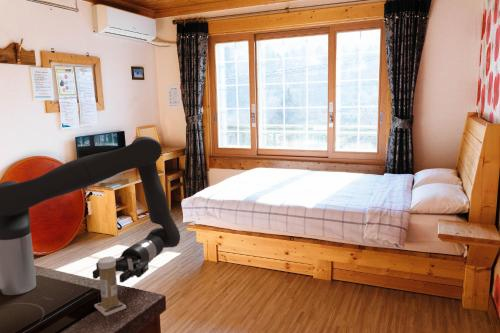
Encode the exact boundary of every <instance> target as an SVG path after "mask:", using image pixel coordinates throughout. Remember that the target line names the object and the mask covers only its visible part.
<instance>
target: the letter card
mask: <svg viewBox="0 0 500 333" xmlns="http://www.w3.org/2000/svg"><path fill="white" fill-rule="evenodd" d="M94 308H95V309H97V311H99V312H100V313H101V314H102V315H103V316H105V317H107V316H109V315H110V316H111V315H112V314H115V313H118V312H120V311H122V310H125V309H126V308H127V305H125V304H124V302H121V301H120V299H118V305H117V306H115V307H113V308H103V307H102V301H101V302H98V303H94Z"/></svg>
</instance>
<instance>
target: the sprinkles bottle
mask: <svg viewBox="0 0 500 333" xmlns="http://www.w3.org/2000/svg"><path fill="white" fill-rule="evenodd" d="M115 259H116V258H115V257H114V256H111V257H109V256H105V257H101V258H99V259H98V260H97V263H98V267H99V274H100V277H99V285H100V286H99V288H100V289H99V290H100V297H101V302H102V307H103V308H113V307H115V306H117V305H118V300H119V299H118V298H119V297H118V283H117V282H118V281H117V272H116V270H115V265H116V260H115Z"/></svg>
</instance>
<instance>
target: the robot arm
mask: <svg viewBox="0 0 500 333" xmlns="http://www.w3.org/2000/svg"><path fill="white" fill-rule="evenodd" d="M161 145H162V144H160V142H159V141H158V140H157V139H155V138H153V137H151V136H139V137H137V138H135V139H133V141H132V142H131V143H130V144H127V145H125V146H124V147H123V146H122V147H121V148H118V149H114V150H110V151H105V152H99V153H94V154H90V155H85V156H81V157H79V158H75V159H73V160H71V161H68V162H67V161H66V162H65V163H63V164H61V165H59V166H56V167H55V168H53V169H51V170H48V172H46V173H44V174H42V175H39V176H38V177H35V178H31V179H28V180H25V181H21V182H18V181H15V180H6V181H3V182H0V288H1V293H2V294H3V295H4V296H5V295H6V296H16V295H22V294H25V293H28V292H30V291H32V290H34V289H35V288H36V287H37V279H36V268H35V259H34V258H35V257H34V248H33V240H32V232H31V217H30V215H31V214H30V208H32V207H34V206H36V205H39V204H40V203H43V202H45V201H48V200H52V199H53V198H57V197H61V196H64V195H67V194H70V193H73V192H76V191H79V190H80V191H81V190H83V189H86V188H88V187H91V186H93V185H96V184H98V183H101V182H103V181H106V180H108V179H111V178H112V177H114V176H117V175H119V174H120V173H125V172H126V171H130V170H133V169H137V171H138V175H139V177H140V181H141V184H142V189H143V194H144V198H145V204H146V208H147V211H148V216H149V220H150V222H151V223H153V224H156V225H160V226H161V227H156V228H154V229H152V230H150V231H149V233H148V235H147V236H146V237H145V238H143V239H142V240H139V241H138V242H135V243H134V244H132V245H131V246H129V247H127V248H125V250H123V251H122V253H121V255H120V256H119V257H116V258H115V260H116V265H115V270H116V273H117V272H121V273H120V274H119V277H118V278H119V283H124V282H126V281H127V280H129V279H131V278H134V277H136V278H140V277H142V276H143V275H144V274H145V273H146V272H147V271H148V270H149V268H150V267H149V264H150V263H151V262H152V261H153V260H154V259H155V258H156V257H158V255H160V254H162V252H163V250H164V249H166V248H175V247H178V245H179V244H180V241H181V233H180V231H179V228H178V227H177V225H176V223H175V222H176V221H174V219H173V216H172V215H171V212H170V209H169V203H168V198H167V195H166V193H165V190H164V187H163V184H162V182H161V179H160V175H159V172H158V167H157V162H158V160H160V158H161V156H162V153H163V152H162V151H163V149H162V146H161ZM108 257H112V256H108ZM95 267H96V269H94V270H92V278H93V279H95V280H96V279H99V278H100V274H99V267H98V262H96V264H95Z"/></svg>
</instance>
